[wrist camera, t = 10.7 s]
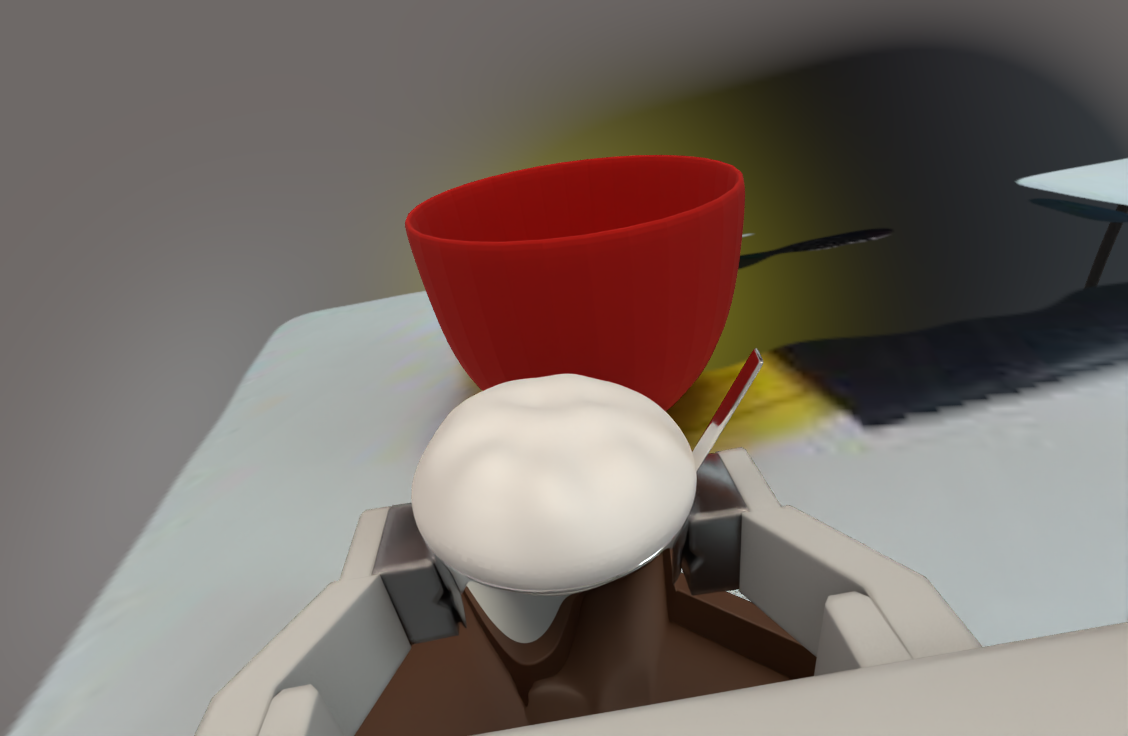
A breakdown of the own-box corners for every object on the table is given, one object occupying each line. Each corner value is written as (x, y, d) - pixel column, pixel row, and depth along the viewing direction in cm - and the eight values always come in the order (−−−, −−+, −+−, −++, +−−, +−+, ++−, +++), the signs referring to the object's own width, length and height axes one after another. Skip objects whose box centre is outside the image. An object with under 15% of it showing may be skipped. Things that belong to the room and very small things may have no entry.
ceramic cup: (570, 304, 37) (549, 146, 32) (799, 396, 25) (822, 163, 20) (389, 381, 31) (329, 201, 26) (572, 555, 19) (522, 275, 14)
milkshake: (737, 872, 11) (808, 460, 6) (465, 847, 11) (319, 460, 6) (707, 649, 14) (733, 292, 10) (507, 641, 15) (436, 304, 10)
